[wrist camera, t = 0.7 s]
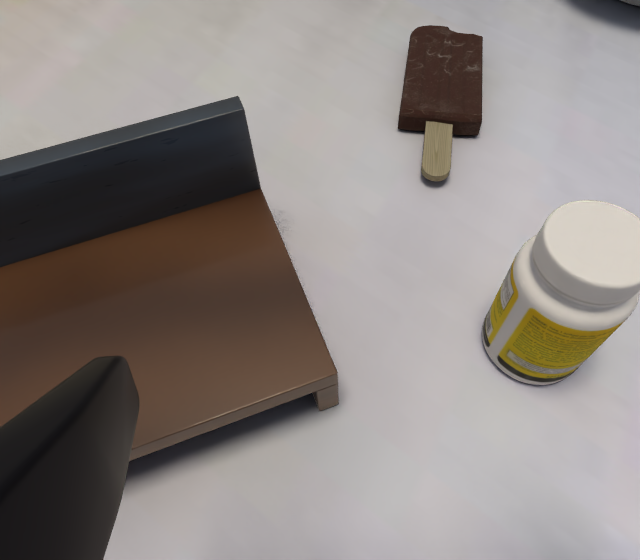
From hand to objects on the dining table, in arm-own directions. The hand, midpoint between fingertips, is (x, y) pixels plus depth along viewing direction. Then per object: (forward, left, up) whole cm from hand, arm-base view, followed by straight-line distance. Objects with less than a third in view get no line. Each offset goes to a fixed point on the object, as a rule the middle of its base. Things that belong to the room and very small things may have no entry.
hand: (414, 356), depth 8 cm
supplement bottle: (+3, -11, -16) cm, 20 cm away
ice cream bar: (+20, -17, -16) cm, 31 cm away
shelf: (+11, +7, -16) cm, 20 cm away
